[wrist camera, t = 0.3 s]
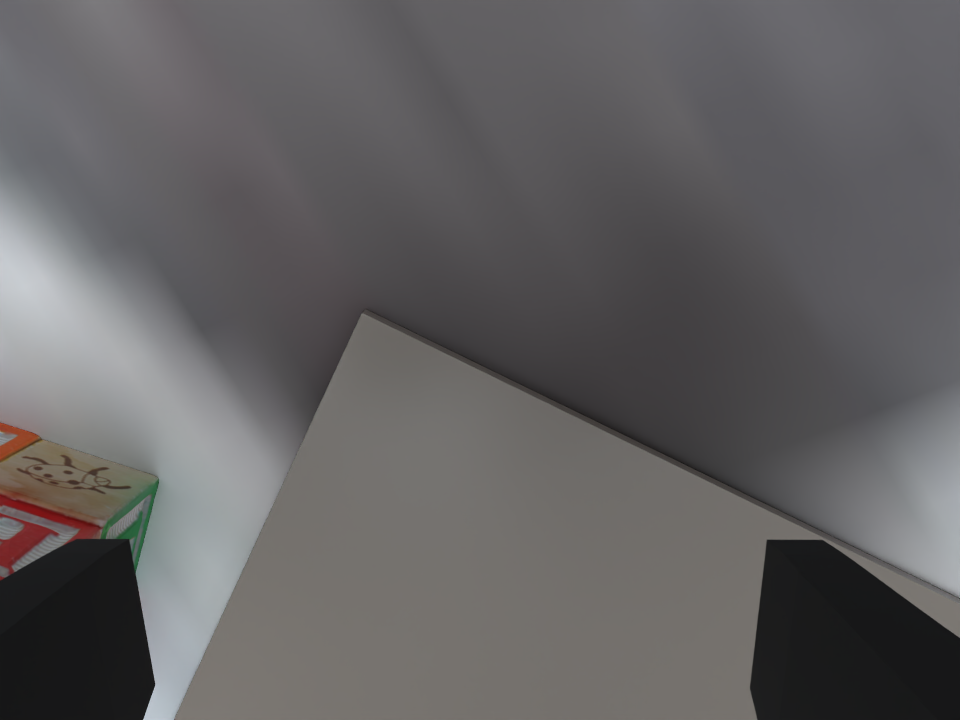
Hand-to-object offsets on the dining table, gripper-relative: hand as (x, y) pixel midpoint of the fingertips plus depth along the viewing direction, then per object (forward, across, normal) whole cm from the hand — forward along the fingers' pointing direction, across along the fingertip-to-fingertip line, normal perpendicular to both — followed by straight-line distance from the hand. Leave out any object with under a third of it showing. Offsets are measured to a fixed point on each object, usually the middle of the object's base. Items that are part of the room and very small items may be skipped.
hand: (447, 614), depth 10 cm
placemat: (+9, -2, +8) cm, 13 cm away
